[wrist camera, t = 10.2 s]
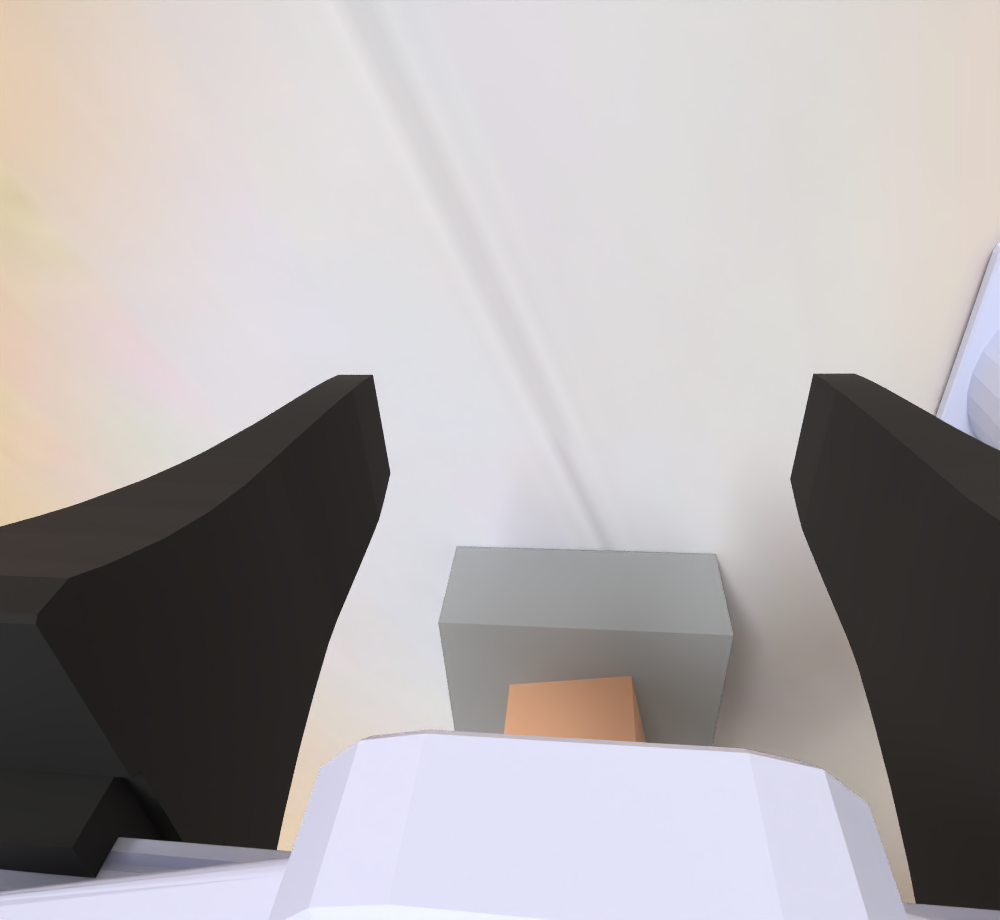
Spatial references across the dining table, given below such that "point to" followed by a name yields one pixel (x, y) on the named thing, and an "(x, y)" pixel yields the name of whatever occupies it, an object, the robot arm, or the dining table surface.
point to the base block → (588, 632)
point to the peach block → (576, 709)
